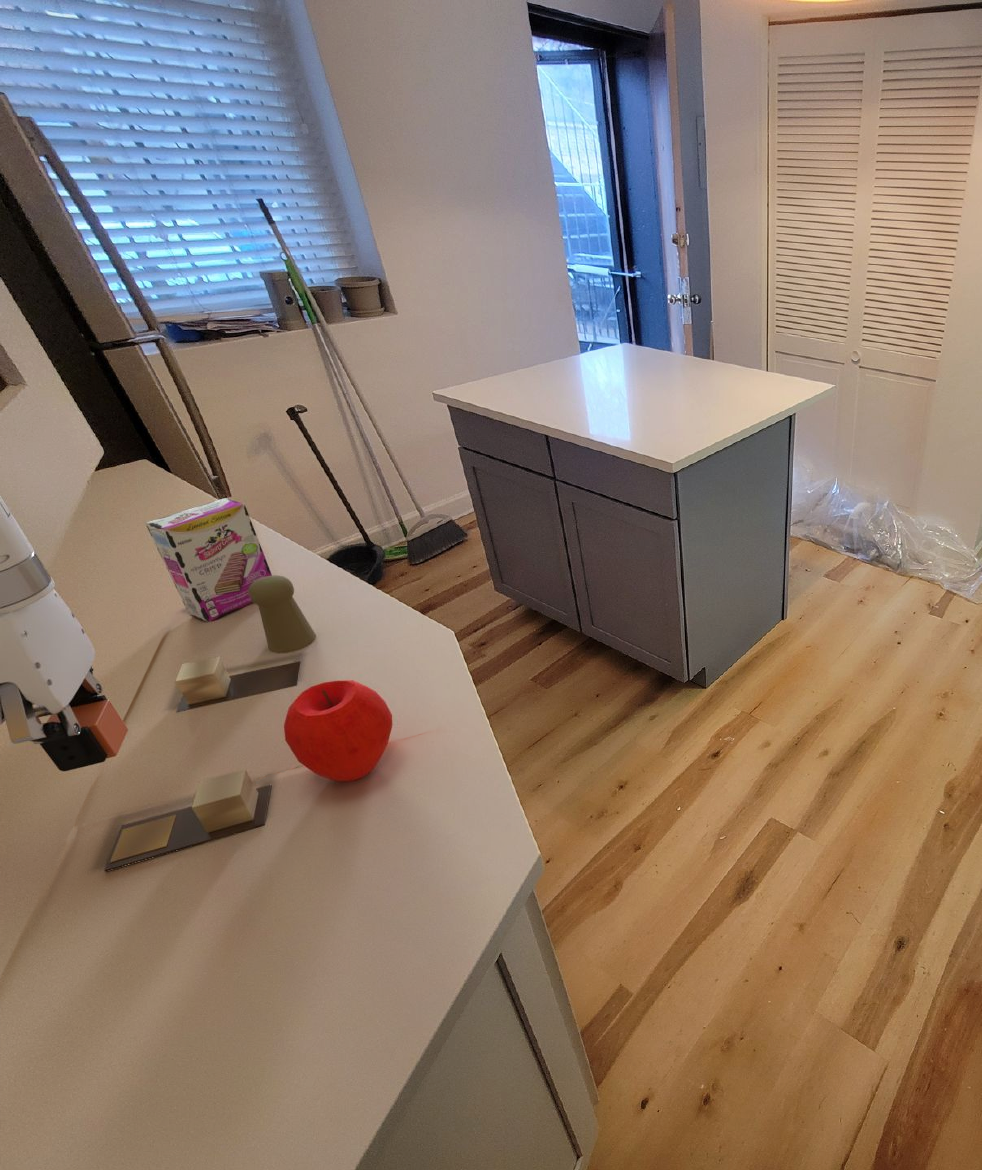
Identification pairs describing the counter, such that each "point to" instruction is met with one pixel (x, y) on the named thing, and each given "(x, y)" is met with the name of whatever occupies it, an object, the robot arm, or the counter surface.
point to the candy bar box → (211, 556)
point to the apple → (338, 729)
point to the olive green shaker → (281, 614)
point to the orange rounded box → (101, 724)
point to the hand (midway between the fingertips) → (92, 746)
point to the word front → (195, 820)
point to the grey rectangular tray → (229, 682)
